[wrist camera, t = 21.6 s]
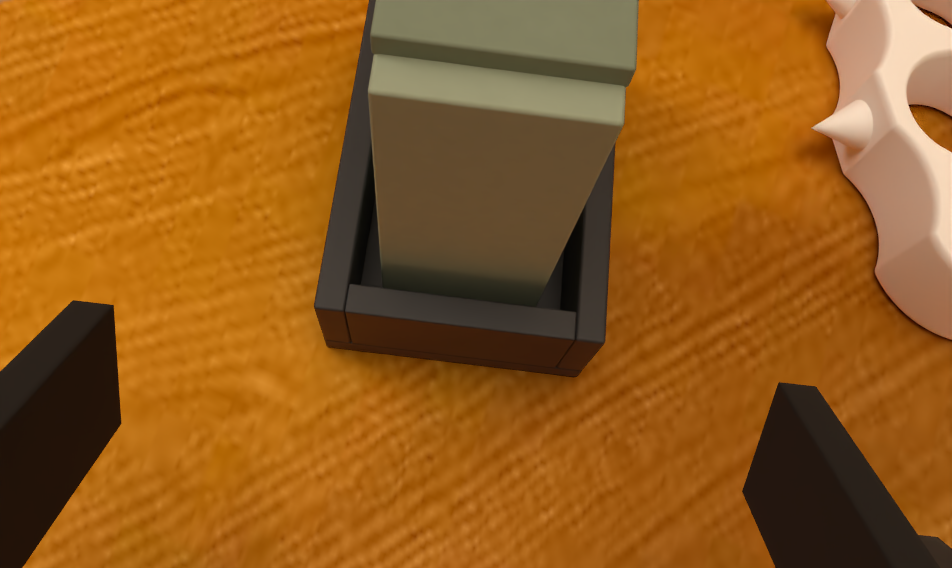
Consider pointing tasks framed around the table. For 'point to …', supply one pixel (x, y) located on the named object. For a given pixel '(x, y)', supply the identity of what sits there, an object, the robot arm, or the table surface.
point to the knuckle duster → (898, 143)
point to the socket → (446, 317)
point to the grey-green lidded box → (491, 136)
